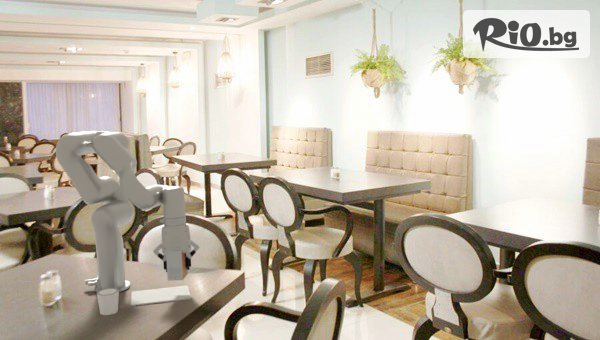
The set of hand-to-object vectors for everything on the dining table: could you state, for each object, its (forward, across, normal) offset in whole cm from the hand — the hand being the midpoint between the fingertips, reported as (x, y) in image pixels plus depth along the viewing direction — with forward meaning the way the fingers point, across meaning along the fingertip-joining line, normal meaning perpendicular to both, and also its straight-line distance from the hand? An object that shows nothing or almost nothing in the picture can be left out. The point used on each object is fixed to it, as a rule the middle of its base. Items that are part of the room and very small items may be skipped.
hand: (177, 269), depth 187 cm
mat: (+9, -6, 0) cm, 11 cm away
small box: (+3, 0, 0) cm, 3 cm away
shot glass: (+9, -23, -9) cm, 27 cm away
